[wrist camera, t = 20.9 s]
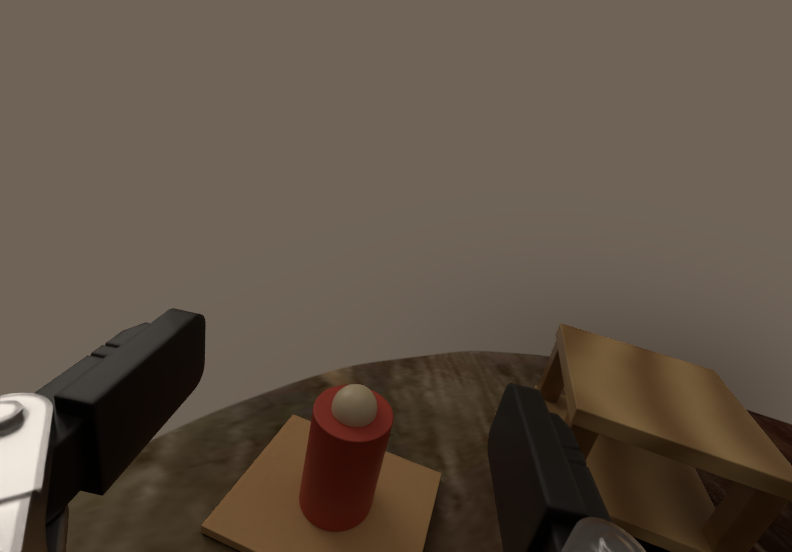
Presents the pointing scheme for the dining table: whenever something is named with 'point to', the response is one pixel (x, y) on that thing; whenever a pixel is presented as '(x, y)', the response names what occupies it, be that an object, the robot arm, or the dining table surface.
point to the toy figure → (344, 456)
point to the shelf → (665, 444)
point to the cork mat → (287, 525)
